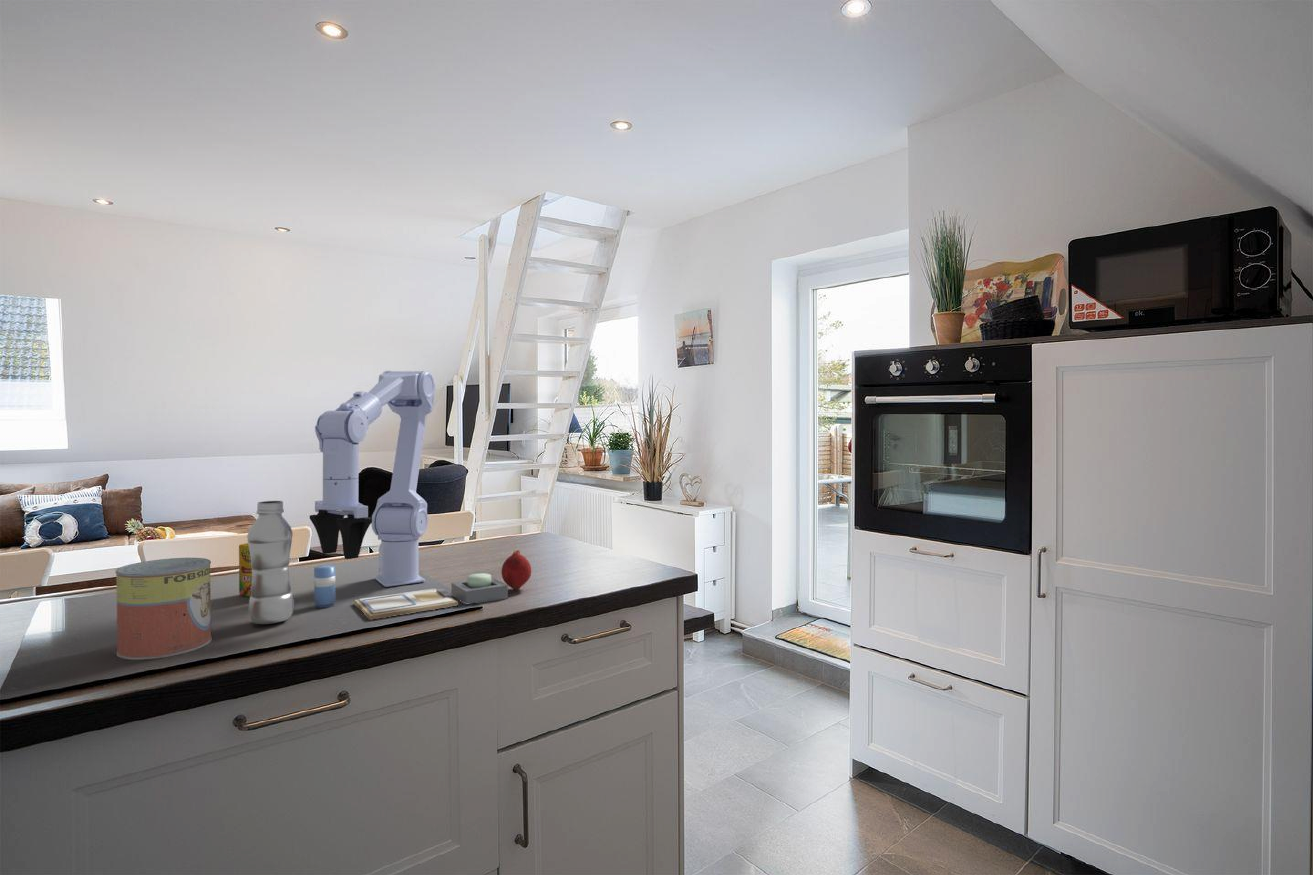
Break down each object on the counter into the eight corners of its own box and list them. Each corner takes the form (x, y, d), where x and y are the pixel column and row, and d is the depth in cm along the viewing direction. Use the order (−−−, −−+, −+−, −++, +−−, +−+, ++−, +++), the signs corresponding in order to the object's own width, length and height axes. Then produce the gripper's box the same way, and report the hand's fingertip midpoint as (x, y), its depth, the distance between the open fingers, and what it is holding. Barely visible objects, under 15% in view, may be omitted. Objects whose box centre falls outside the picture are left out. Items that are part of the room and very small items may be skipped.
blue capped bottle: (312, 604, 120) (312, 566, 120) (333, 601, 122) (333, 564, 122) (316, 609, 117) (315, 570, 117) (337, 606, 119) (337, 567, 119)
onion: (527, 593, 129) (527, 552, 129) (498, 593, 129) (498, 552, 129) (533, 586, 135) (533, 547, 134) (505, 585, 135) (505, 546, 134)
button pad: (451, 595, 127) (451, 582, 127) (491, 589, 132) (491, 576, 132) (466, 605, 121) (466, 591, 121) (507, 598, 125) (507, 585, 125)
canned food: (190, 656, 94) (189, 572, 93) (98, 662, 91) (97, 575, 91) (224, 631, 105) (223, 556, 104) (143, 636, 102) (142, 558, 102)
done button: (463, 585, 127) (463, 575, 127) (486, 582, 129) (486, 572, 129) (472, 590, 123) (472, 579, 123) (494, 587, 126) (494, 576, 126)
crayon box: (238, 596, 126) (237, 534, 125) (252, 592, 128) (252, 532, 128) (265, 600, 123) (265, 537, 123) (280, 596, 126) (279, 535, 125)
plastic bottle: (303, 618, 112) (302, 500, 111) (268, 630, 105) (267, 505, 105) (274, 614, 114) (273, 498, 113) (238, 626, 107) (237, 503, 107)
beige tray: (354, 604, 121) (354, 596, 121) (436, 592, 129) (436, 584, 129) (369, 620, 111) (369, 612, 111) (458, 606, 120) (458, 598, 120)
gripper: (297, 477, 118) (297, 553, 118) (339, 481, 109) (339, 564, 109) (336, 475, 124) (336, 548, 124) (379, 479, 115) (379, 558, 115)
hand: (340, 555), depth 117 cm, fingers open, 7 cm apart
